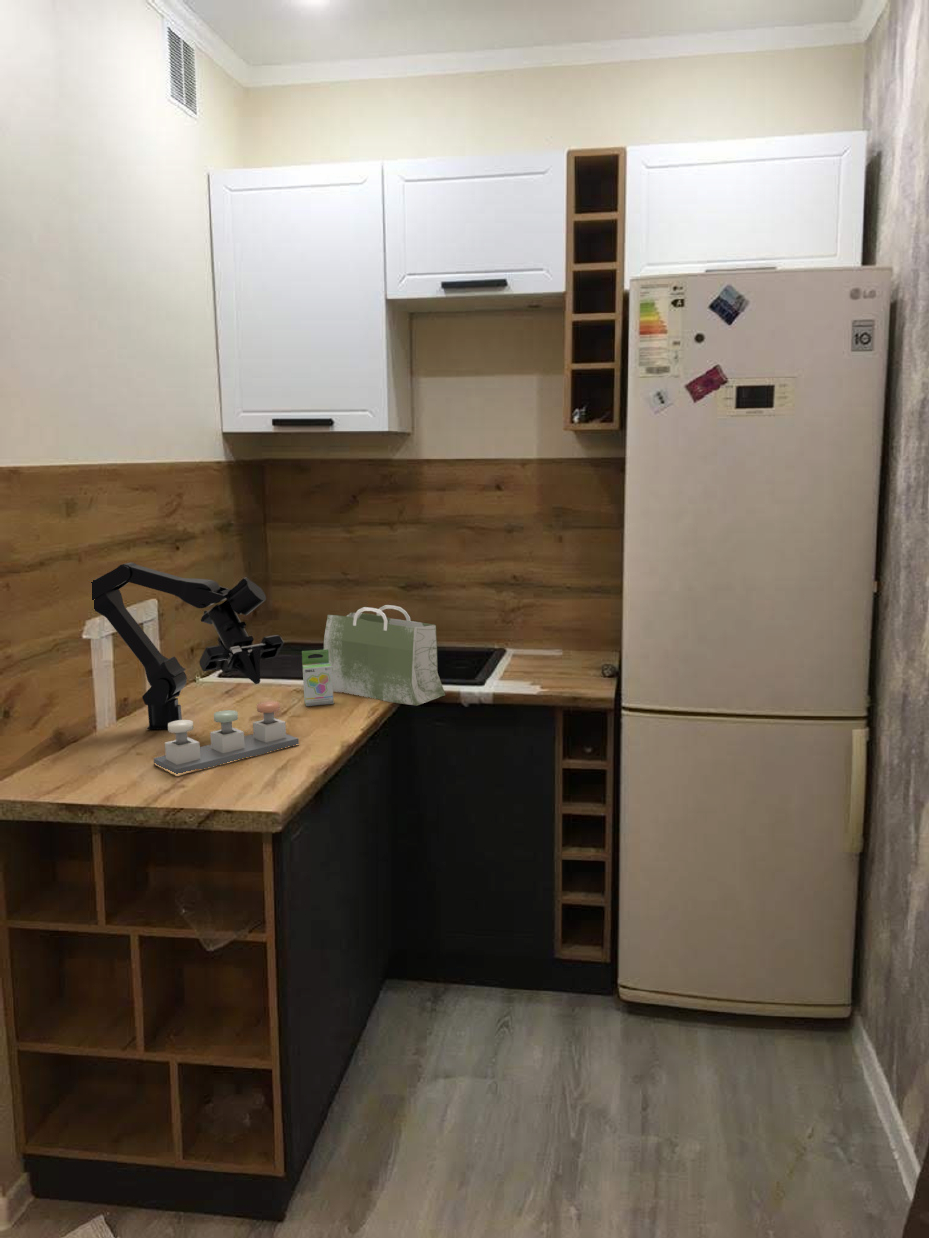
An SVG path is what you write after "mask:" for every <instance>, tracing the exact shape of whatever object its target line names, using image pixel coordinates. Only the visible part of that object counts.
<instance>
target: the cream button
mask: <svg viewBox="0 0 929 1238" xmlns="http://www.w3.org/2000/svg"><path fill="white" fill-rule="evenodd" d="M193 729H194V721H193V720H190V719H182V720H177V721H173V722H170V723H168V729H167V731H168V732H169V733H172V734H175V740H176V745H178V746H179V745H183V744H187V743H188V742H187V737H188V732H190V731H192V730H193Z"/></svg>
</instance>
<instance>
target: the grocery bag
mask: <svg viewBox="0 0 929 1238" xmlns="http://www.w3.org/2000/svg"><path fill="white" fill-rule="evenodd" d="M386 609H387V610H391V609H392V610H396V611H399V612H400V613H402V614H403V615H404V617H405V620H404V619H396V618H390V617H387V615H386V613H384V612H383V611H385V610H386ZM363 612H373V613H376V614H372V613H363ZM437 637H438V636H437V625H436V624H431V623H425V622H421V621H420V622H419V621H412V620H411V617H410V615H409V614H408V612H407V611H406V610H405V609H404V608H402V607H401V606H397V605H390V604H385V605H383V606H380V607H379V608H375V607H367V606H364V607H361V608H359V609H357V611H356V612H350V613H349V614H347V615H333V614H327V619H326V625H325V631H324V637H323V650H326V649H329V663H330V665H331V667H332V683H333V693H334V692H335V693H342V692H344V694H348V693H349V695H353V694H354V696H358V695H359V697H363V696H364V697H363V698H368V697H370V698H369V699H373V698H374V699H373V700H378V699H380V700H379V701H382V700H383V702H389V703H394V704H403V705H410V706H420V705H423V704H424V703H425V704H426V703H428V702H431V701H433V700H436V699H439V698H441V697H443V696H446V692H445V690H444V686H443V684H442V680H441V679H440V676H439V673H438V642H437V641H438V640H437Z"/></svg>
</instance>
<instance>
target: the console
mask: <svg viewBox="0 0 929 1238" xmlns="http://www.w3.org/2000/svg"><path fill="white" fill-rule="evenodd" d="M252 730H253V733H252V734H249V735H245V732H244V731H243V730H240V729H238V728H237V727H233V726H232V733H230V734H225V735H223V734H222V732H221V729H218V730H213V731H210V744H206V745H203V746H200V741H197V740H196V739H193V738H191V737H189V736H187V742H188V743H187V744H183V745H179V746H178V745H176V739H174V740H170V741H166V742H164V751H165V755H161V756H157V757H154V758H153V764H154V763H156V764H157V765H159V766H161V767H163V768H165V769H168V770H170V771H172V772H174V773H176V774H178V773H183V772H186V771H191V770H195V769H204V768H208V767H212V768H214V767H213V766H216V765H220V764H223V763H227V762H230V761H234V760H238V759H242V758H246V757H250V756H255V757H257V756H256V755H259V756H261V755H260V754H262V755H265V754H264V753H266V754H268V753H267V752H270V751H274V750H277V749H281V748H285V747H288V746H293V745H296V744H300V743H299V741H300V739H299V737H295V736H292V735H291V734H287V731H286V730H287V729H286V721H284V720H281V719H279V718H276V717H274V723H272V724H268V725H266V724H264V719H261V720H257V721H253V722H252ZM293 747H294V746H293ZM274 752H275V751H274ZM270 753H271V752H270ZM220 766H221V765H220ZM216 767H217V766H216ZM208 769H209V768H208Z"/></svg>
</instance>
